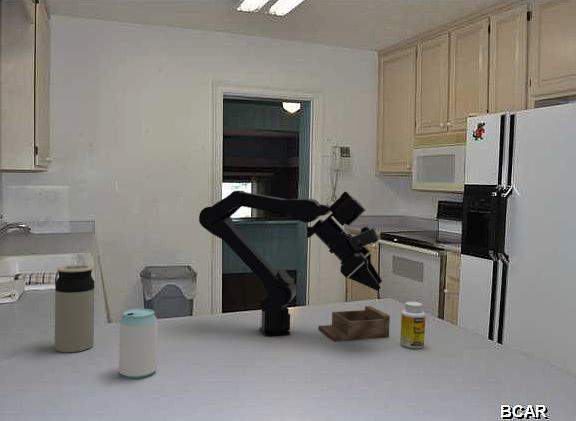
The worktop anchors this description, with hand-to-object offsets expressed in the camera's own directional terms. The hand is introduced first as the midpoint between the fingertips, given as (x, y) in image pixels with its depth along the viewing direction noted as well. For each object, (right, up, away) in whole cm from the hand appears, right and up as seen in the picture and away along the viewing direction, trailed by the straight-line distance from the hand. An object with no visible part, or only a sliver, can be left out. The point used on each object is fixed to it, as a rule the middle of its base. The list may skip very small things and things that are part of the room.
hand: (380, 285), depth 120 cm
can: (-52, -14, -23) cm, 58 cm away
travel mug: (-70, -12, -10) cm, 72 cm away
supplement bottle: (+7, -14, -1) cm, 16 cm away
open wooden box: (-6, -13, +7) cm, 16 cm away
